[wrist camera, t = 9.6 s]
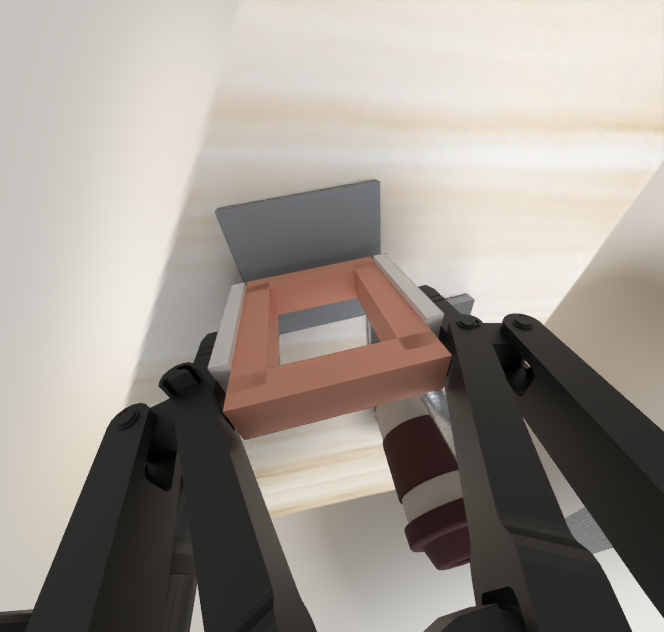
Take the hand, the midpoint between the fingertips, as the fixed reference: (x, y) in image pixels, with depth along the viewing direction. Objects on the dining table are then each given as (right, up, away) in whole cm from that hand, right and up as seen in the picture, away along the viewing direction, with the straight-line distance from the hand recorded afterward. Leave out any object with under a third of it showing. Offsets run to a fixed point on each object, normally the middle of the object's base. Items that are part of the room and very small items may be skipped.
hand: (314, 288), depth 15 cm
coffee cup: (+10, -13, +17) cm, 24 cm away
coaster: (0, +2, +3) cm, 3 cm away
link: (0, 0, +1) cm, 1 cm away
